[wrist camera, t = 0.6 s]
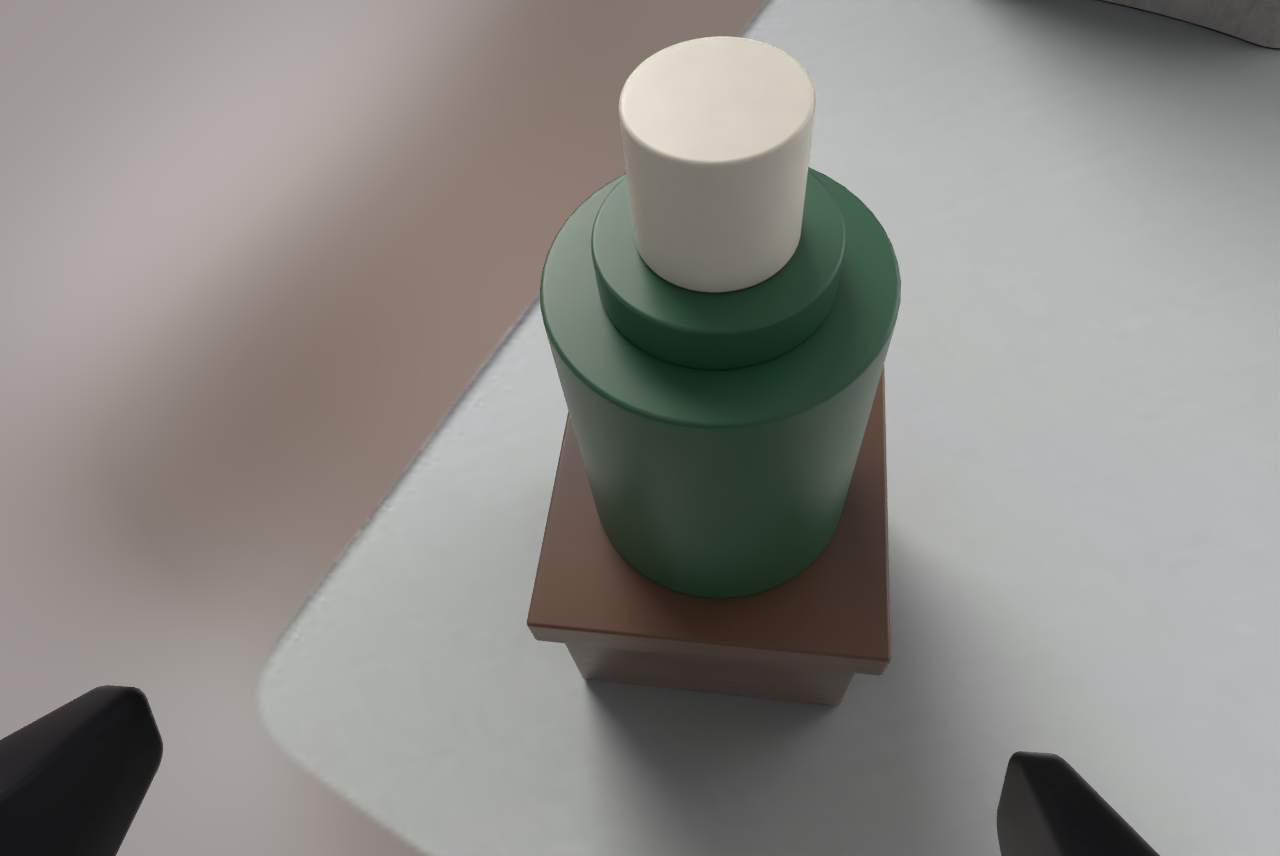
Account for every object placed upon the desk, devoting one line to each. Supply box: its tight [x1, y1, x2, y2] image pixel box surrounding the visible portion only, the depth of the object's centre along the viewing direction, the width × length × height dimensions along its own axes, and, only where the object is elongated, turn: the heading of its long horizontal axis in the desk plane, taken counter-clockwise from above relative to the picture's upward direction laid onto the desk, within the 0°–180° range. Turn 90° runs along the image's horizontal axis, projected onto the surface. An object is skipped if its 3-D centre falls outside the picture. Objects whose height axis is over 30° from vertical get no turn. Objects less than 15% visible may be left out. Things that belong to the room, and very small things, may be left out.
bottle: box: [540, 36, 901, 598], centre depth 16 cm, size 6×6×11 cm
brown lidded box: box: [527, 365, 891, 706], centre depth 23 cm, size 8×8×6 cm
